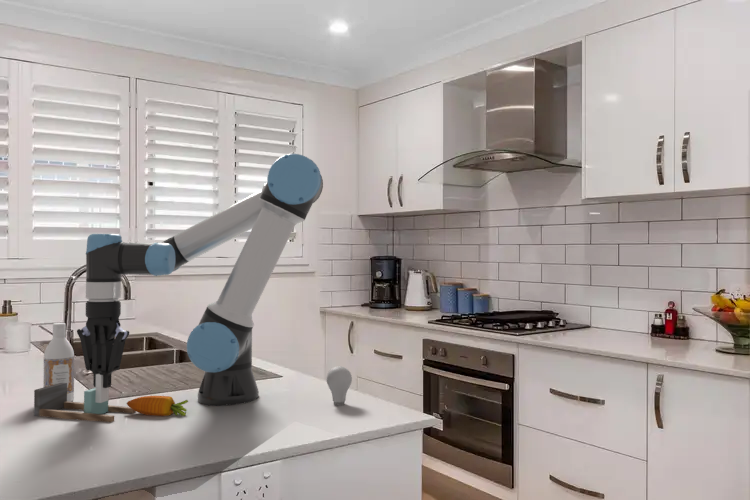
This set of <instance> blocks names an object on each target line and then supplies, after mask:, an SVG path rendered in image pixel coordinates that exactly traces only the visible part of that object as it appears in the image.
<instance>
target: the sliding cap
mask: <svg viewBox="0 0 750 500" xmlns="http://www.w3.org/2000/svg"><path fill="white" fill-rule="evenodd" d="M95 395H96V387H93V388H91V389H86V390H84V391H83V403H84V410H83V413H93V414H103V415H105V414H106V412H107V413H109V412H108V405H109V400H108V401H105V402H102V403H96V402H95Z"/></svg>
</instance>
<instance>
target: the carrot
mask: <svg viewBox="0 0 750 500" xmlns="http://www.w3.org/2000/svg"><path fill="white" fill-rule="evenodd" d="M187 403H189V400H188V399H185V400H183V401H181V402H177V403H176V402H175V400H174V399H173V397H172V396H168V395H144V396H140V397H136V398H133V399H131V400H128V401H127V402H126V406H127V407H130V408H131V409H133V410H135V411H136V412H135V413H138V414H142V415H146V416H155V417H156V416H157V417H158V416H159V417H168V416H171V415H172V414H174V416H178V415H180V416H181V417H184V416H186V415H187V414H186V412H187V411H188V410H187V408H186V407H184V406H183V405H184V404H187Z"/></svg>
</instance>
